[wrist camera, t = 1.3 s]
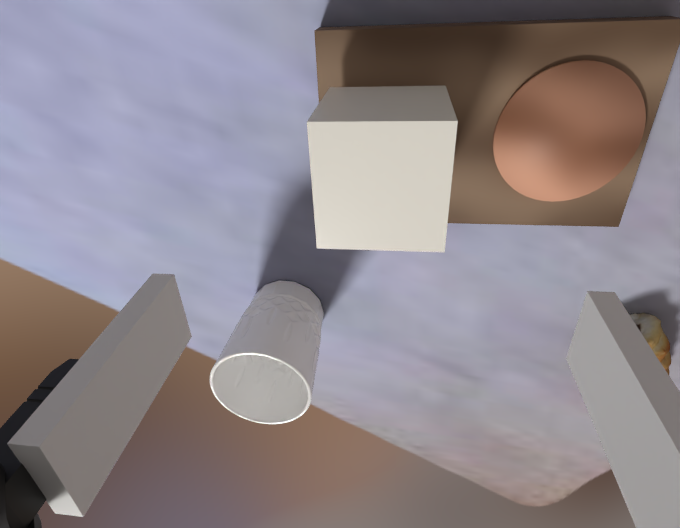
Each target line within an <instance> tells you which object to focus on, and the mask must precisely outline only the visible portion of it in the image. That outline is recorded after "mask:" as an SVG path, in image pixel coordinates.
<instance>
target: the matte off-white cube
mask: <svg viewBox="0 0 680 528" xmlns="http://www.w3.org/2000/svg"><path fill="white" fill-rule="evenodd" d="M457 124H458V120H457V117H456V114H455V111H454V109H453V106H452V103H451V100H450V97H449V94H448V91H447V88H446V86H381V87H330V88H329V89H328V91H327V92H326V94H325V95H324V97H323V98H322V100H321V101H320V103H319V104H318V106H317V107H316V109H315V110H314V112H313V113H312V115H311V116H310V118H309V119H308V121H307V129H308V142H309V155H310V168H311V181H312V194H313V206H314V219H315V232H316V245H317V248H318V249H352V250H386V251H419V252H445V243H446V233H447V223H448V213H449V203H450V193H451V183H452V173H453V164H454V154H455V144H456V134H457Z"/></svg>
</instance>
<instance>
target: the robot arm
mask: <svg viewBox="0 0 680 528" xmlns="http://www.w3.org/2000/svg"><path fill="white" fill-rule="evenodd" d="M191 337H192V336H191V333H190V329H189V325H188V322H187V318H186V315H185V311H184V308H183V304H182V301H181V297H180V294H179V290H178V287H177V283H176V280H175V276H174V274H152V275H151V276H150V277H149V279H148V280H147V281H146V282H145V283H144V284H143V286H142V287H141V288H140V289H139V290H138V291H137V293H136V294H135V295H134V296H133V297H132V298H131V300H130V301H129V302H128V303H127V304H126V305H125V307H124V308H123V309H122V310H121V311H120V312H119V314H118V315H117V316H116V317H115V318H114V319H113V321H112V322H111V323H110V324H109V325H108V327H107V328H106V329H105V330H104V331H103V332H102V333H101V335H100V336H99V337H98V338H97V339H96V340H95V342H94V343H93V344H92V345H91V346H90V347H89V349H88V350H87V351H86V352H85V353H84V354H83V356H82V357H81V358H80V359H79V360H78V359H69V360H67V361H66V362H65V363H63V364H62V365H60V366H59V367H57V368H56V369H54V370H53V371H52V372H51V373H50V374H49V375H48V376H47V377H46V378H45V379H44V380H43V382H42V383H41V384H40V385H39V386H38V389H35V390H34V391H33V393H32V394H31V395H30V396H29V397H28V398H27V402H24V403H23V404H22V405H21V406H20V407H19V408H18V409H17V411H15V413H14V414H13V415H12V416H11V417H10V418H9V419H8V420H7V422H6V423H5V424H4V425H3V426H2V427H1V428H0V528H42V526H41V520H40V518H39V515H38V514H37V512H38V511H39V509H40V508H41V507H42V505H43V504H44V502H45V501H47V502H48V504H49V505H50V507H51V508H52V510H53V511H54V512H55V514H64V515H74V516H81V517H84V515H85V513H86V512H87V510H88V508H89V507H90V505H91V503H92V502H93V500H94V498H95V497H96V495H97V493H98V492H99V490H100V488H101V487H102V485H103V483H104V482H105V480H106V478H107V477H108V475H109V473H110V472H111V470H112V468H113V467H114V465H115V463H116V462H117V460H118V458H119V457H120V455H121V453H122V452H123V450H124V448H125V447H126V445H127V443H128V442H129V440H130V438H131V437H132V435H133V433H134V432H135V430H136V428H137V427H138V425H139V423H140V422H141V420H142V418H143V417H144V415H145V413H146V412H147V410H148V408H149V407H150V405H151V403H152V402H153V400H154V398H155V397H156V395H157V393H158V392H159V390H160V388H161V387H162V385H163V383H164V382H165V380H166V378H167V377H168V375H169V373H170V372H171V370H172V368H173V367H174V365H175V363H176V362H177V360H178V358H179V357H180V355H181V353H182V352H183V350H184V348H185V347H186V345H187V343H188V342H189V340H190V338H191ZM566 359H567V362H568V364H569V367H570V369H571V371H572V374H573V376H574V379H575V381H576V384H577V386H578V388H579V391H580V393H581V396H582V398H583V401H584V403H585V405H586V408H587V410H588V413H589V415H590V417H591V420H592V422H593V425H594V427H595V430H596V432H597V434H598V437H599V439H600V442H601V444H602V446H603V449H604V451H605V454H606V456H607V459H608V461H609V463H610V466H611V468H612V471H613V473H614V475H615V478H616V480H617V483H618V485H619V487H620V490H621V492H622V495H623V497H624V500H625V502H626V505H627V507H628V509H629V512H630V514H631V517H632V519H633V521H634V524H635V526H636V528H680V392H679V390H678V389H677V387H676V386H675V384H674V383H673V381H672V379H671V378H670V376H669V375H668V373H667V372H666V370H665V369H664V367H663V366H662V364H661V363H660V361H659V360H658V358H657V357H656V355H655V353H654V352H653V350H652V349H651V347H650V346H649V344H648V343H647V341H646V340H645V338H644V337H643V335H642V334H641V332H640V330H639V329H638V327H637V326H636V324H635V323H634V321H633V320H632V318H631V317H630V315H629V314H628V312H627V311H626V309H625V308H624V306H623V304H622V303H621V301H620V300H619V298H618V297H617V295H616V294H615V292H594V291H587V294H586V297H585V300H584V303H583V306H582V310H581V313H580V316H579V319H578V322H577V326H576V329H575V332H574V335H573V338H572V341H571V345H570V348H569V351H568V354H567V357H566Z"/></svg>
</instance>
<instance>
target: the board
mask: <svg viewBox="0 0 680 528" xmlns="http://www.w3.org/2000/svg"><path fill="white" fill-rule="evenodd" d="M679 44H680V18H679V17H673V16H656V17H625V18H594V19H563V20H532V21H501V22H470V23H439V24H408V25H377V26H346V27H320V28H318V29H316V30H315V45H316V62H317V78H318V94H319V103H320V101H321V100H322V98H323V97H324V95H325V94H326V92H327V91H328V89H329V88H330V87H381V86H446V88H447V91H448V94H449V97H450V100H451V103H452V106H453V109H454V111H455V114H456V117H457V120H458V124H457V134H456V144H455V154H454V164H453V173H452V183H451V193H450V203H449V213H448V223H470V224H516V225H562V226H608V227H619V224H620V221H621V218H622V215H623V212H624V209H625V206H626V203H627V200H628V197H629V194H630V191H631V188H632V185H633V182H634V179H635V176H636V173H637V170H638V167H639V164H640V161H641V158H642V155H643V152H644V149H645V146H646V143H647V140H648V137H649V134H650V131H651V128H652V125H653V122H654V119H655V116H656V113H657V110H658V107H659V104H660V101H661V98H662V95H663V92H664V89H665V86H666V83H667V80H668V77H669V74H670V71H671V68H672V65H673V62H674V59H675V56H676V53H677V50H678V47H679Z"/></svg>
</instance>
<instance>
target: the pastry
mask: <svg viewBox="0 0 680 528" xmlns="http://www.w3.org/2000/svg"><path fill="white" fill-rule="evenodd" d="M630 317H631V318H632V320H633V321H634V323H635V324H636V326H637V327H638V329H639V330H640V332H641V334H642V335H643V337H644V338H645V340H646V341H647V343H648V344H649V346H650V347H651V349H652V350H653V352H654V353H655V355H656V357H657V358H658V360H659V361H660V363H661V364H662V366H663V367H664V369H665V370H666V372H667V373H668V375H669V366H670V364H671V356H670V352H669V350H670V343H669V341H668V339H667V337H666V335H665V334H664V333H663V330H662V328H661V321H660V320H659V319H658V318H657V317H655V316H653V315H647V314H645V313H641V314H630Z"/></svg>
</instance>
